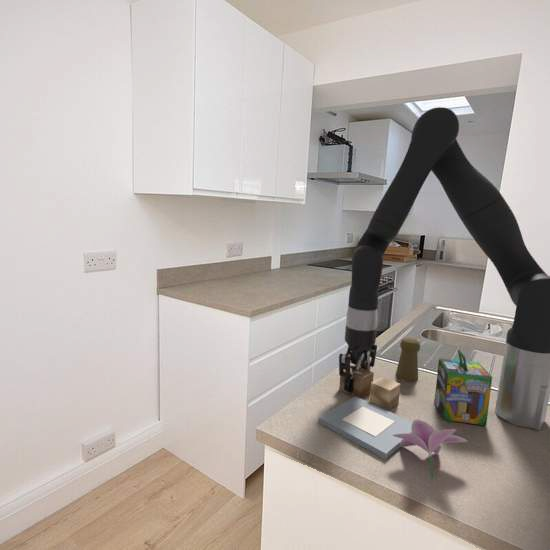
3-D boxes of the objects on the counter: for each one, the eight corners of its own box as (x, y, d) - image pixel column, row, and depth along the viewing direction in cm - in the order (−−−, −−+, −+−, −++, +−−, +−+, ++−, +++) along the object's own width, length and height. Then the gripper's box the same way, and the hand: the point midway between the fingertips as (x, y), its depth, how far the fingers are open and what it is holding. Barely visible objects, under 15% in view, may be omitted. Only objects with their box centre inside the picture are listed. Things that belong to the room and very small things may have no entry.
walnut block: (372, 390, 94) (373, 372, 94) (359, 398, 90) (361, 379, 89) (352, 382, 99) (353, 364, 98) (339, 389, 94) (340, 371, 93)
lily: (474, 476, 66) (466, 419, 69) (463, 487, 57) (454, 420, 60) (407, 469, 73) (401, 417, 76) (387, 478, 63) (382, 418, 67)
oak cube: (398, 403, 89) (400, 383, 88) (388, 410, 85) (390, 390, 84) (379, 395, 92) (381, 376, 91) (369, 401, 89) (371, 382, 88)
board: (419, 430, 78) (419, 424, 77) (385, 459, 68) (386, 452, 68) (354, 400, 89) (355, 395, 89) (318, 422, 79) (318, 416, 79)
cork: (395, 379, 101) (399, 341, 100) (395, 370, 107) (399, 334, 105) (419, 383, 100) (423, 344, 98) (417, 374, 105) (421, 337, 104)
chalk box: (486, 427, 80) (496, 363, 77) (441, 421, 82) (450, 358, 79) (473, 405, 89) (481, 347, 86) (432, 400, 91) (440, 343, 88)
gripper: (358, 334, 84) (352, 402, 87) (389, 323, 94) (383, 384, 97) (331, 326, 89) (326, 390, 92) (363, 316, 99) (358, 374, 102)
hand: (355, 387), depth 94 cm, fingers closed on walnut block, 6 cm apart
